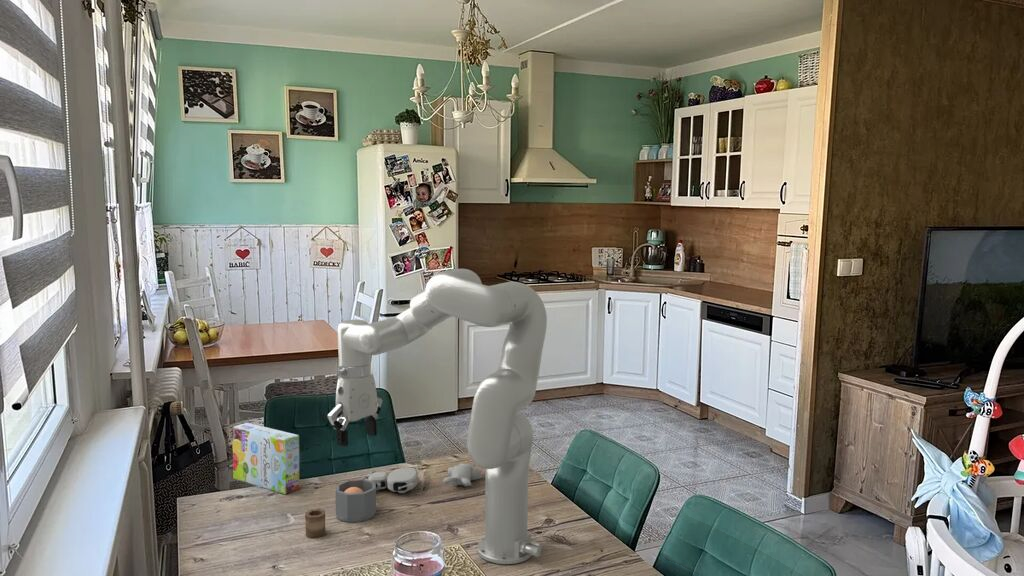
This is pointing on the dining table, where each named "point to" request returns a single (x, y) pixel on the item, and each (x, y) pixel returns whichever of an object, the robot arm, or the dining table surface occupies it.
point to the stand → (315, 523)
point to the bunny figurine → (462, 474)
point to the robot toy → (395, 479)
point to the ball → (353, 490)
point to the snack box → (266, 457)
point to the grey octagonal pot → (356, 501)
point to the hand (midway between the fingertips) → (357, 440)
